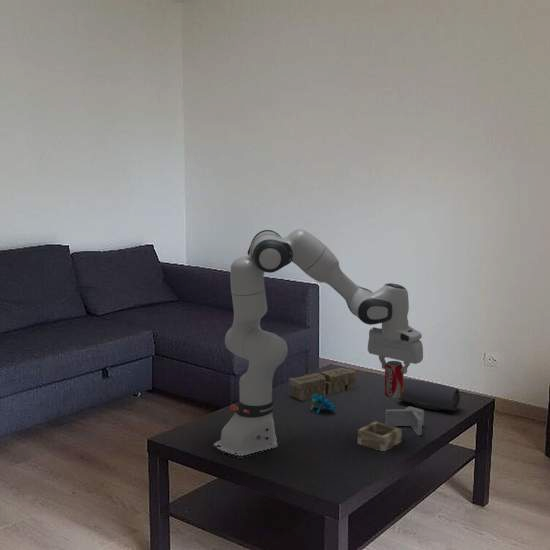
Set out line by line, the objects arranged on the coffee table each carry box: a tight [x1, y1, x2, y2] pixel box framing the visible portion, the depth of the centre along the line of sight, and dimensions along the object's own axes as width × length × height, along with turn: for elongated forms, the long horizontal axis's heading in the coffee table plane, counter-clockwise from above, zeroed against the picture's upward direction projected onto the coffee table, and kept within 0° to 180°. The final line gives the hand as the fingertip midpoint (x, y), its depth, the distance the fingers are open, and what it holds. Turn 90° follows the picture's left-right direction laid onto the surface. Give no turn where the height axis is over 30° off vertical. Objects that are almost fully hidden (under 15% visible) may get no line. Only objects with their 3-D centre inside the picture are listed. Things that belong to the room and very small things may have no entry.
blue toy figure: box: [310, 394, 336, 415], centre depth 275 cm, size 11×6×10 cm
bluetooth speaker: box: [397, 378, 461, 411], centre depth 280 cm, size 23×9×10 cm, turn 57°
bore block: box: [357, 420, 403, 452], centre depth 246 cm, size 11×11×5 cm
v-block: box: [384, 405, 425, 436], centre depth 259 cm, size 10×15×6 cm, turn 48°
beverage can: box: [384, 360, 405, 400], centre depth 248 cm, size 6×6×12 cm
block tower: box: [289, 367, 357, 402], centre depth 297 cm, size 8×8×29 cm
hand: (394, 370), depth 247 cm, fingers closed on beverage can, 6 cm apart
